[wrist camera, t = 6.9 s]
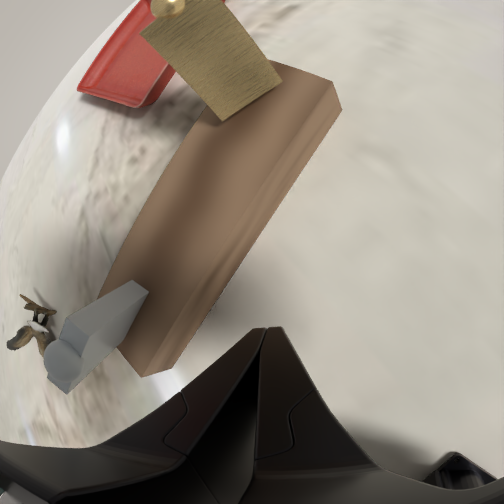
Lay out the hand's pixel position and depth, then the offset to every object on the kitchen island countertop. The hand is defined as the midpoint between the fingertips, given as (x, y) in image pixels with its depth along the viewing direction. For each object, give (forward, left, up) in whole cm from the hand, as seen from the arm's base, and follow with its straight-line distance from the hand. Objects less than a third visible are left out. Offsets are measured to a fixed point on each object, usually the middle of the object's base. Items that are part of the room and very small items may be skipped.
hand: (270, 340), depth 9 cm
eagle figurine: (+26, +27, -14) cm, 40 cm away
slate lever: (+12, +9, -9) cm, 18 cm away
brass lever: (+12, -9, -9) cm, 17 cm away
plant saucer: (+35, -13, -14) cm, 40 cm away
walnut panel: (+12, 0, -13) cm, 18 cm away
